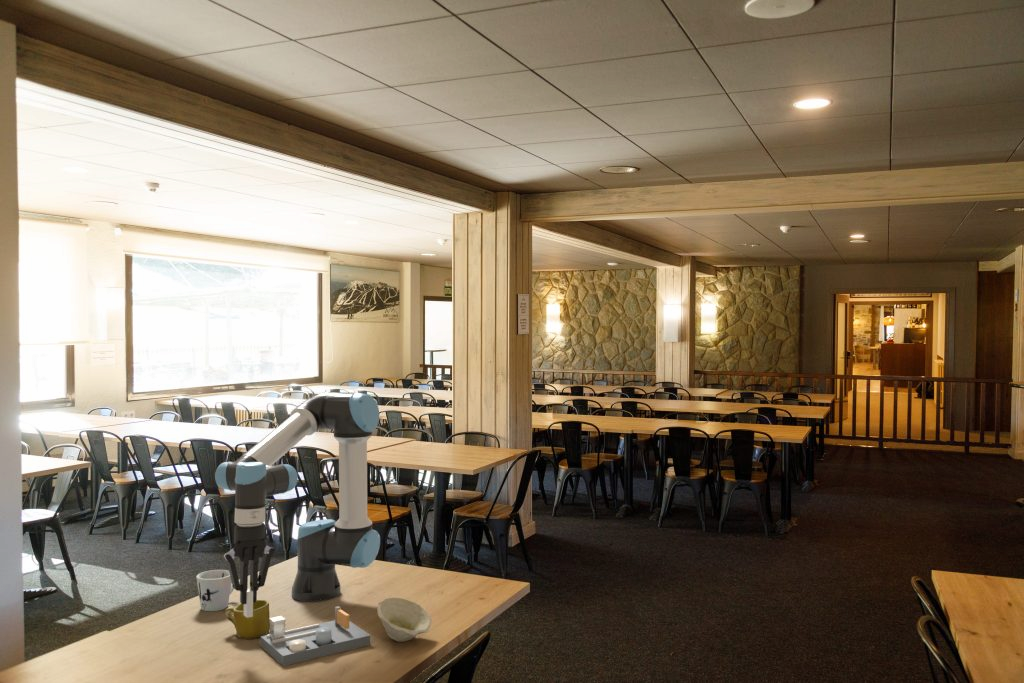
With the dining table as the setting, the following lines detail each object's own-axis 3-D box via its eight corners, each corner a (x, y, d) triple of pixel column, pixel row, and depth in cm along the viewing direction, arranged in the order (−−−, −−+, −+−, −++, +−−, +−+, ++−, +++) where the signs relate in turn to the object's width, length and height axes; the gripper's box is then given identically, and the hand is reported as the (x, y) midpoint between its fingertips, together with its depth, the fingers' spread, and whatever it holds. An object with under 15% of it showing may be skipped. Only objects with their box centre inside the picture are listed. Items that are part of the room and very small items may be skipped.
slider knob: (269, 637, 208) (269, 618, 208) (281, 635, 210) (281, 615, 210) (273, 641, 205) (273, 621, 205) (285, 638, 207) (285, 619, 207)
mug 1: (188, 610, 236) (188, 576, 236) (223, 595, 249) (224, 564, 249) (215, 615, 232) (215, 581, 232) (250, 600, 245) (250, 568, 246)
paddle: (334, 624, 218) (334, 607, 218) (338, 623, 218) (339, 606, 218) (345, 632, 212) (345, 614, 212) (349, 631, 213) (350, 613, 213)
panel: (260, 645, 209) (260, 634, 209) (344, 627, 223) (344, 616, 223) (282, 666, 196) (282, 653, 196) (370, 644, 210) (370, 633, 210)
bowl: (406, 654, 204) (406, 615, 204) (365, 643, 211) (366, 605, 211) (441, 636, 217) (441, 600, 217) (402, 626, 224) (402, 591, 224)
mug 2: (284, 622, 221) (271, 591, 219) (262, 646, 212) (248, 614, 210) (249, 624, 226) (237, 594, 224) (227, 647, 217) (213, 616, 214)
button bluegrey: (313, 642, 206) (313, 629, 206) (327, 638, 208) (327, 626, 208) (319, 646, 203) (319, 634, 203) (334, 643, 205) (334, 630, 205)
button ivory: (287, 654, 202) (287, 641, 202) (302, 651, 204) (302, 638, 204) (293, 659, 198) (293, 646, 199) (308, 656, 201) (308, 643, 201)
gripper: (228, 529, 196) (226, 624, 196) (280, 523, 204) (278, 615, 203) (219, 523, 202) (217, 616, 202) (269, 518, 210) (267, 607, 209)
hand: (248, 615), depth 202 cm, fingers closed
